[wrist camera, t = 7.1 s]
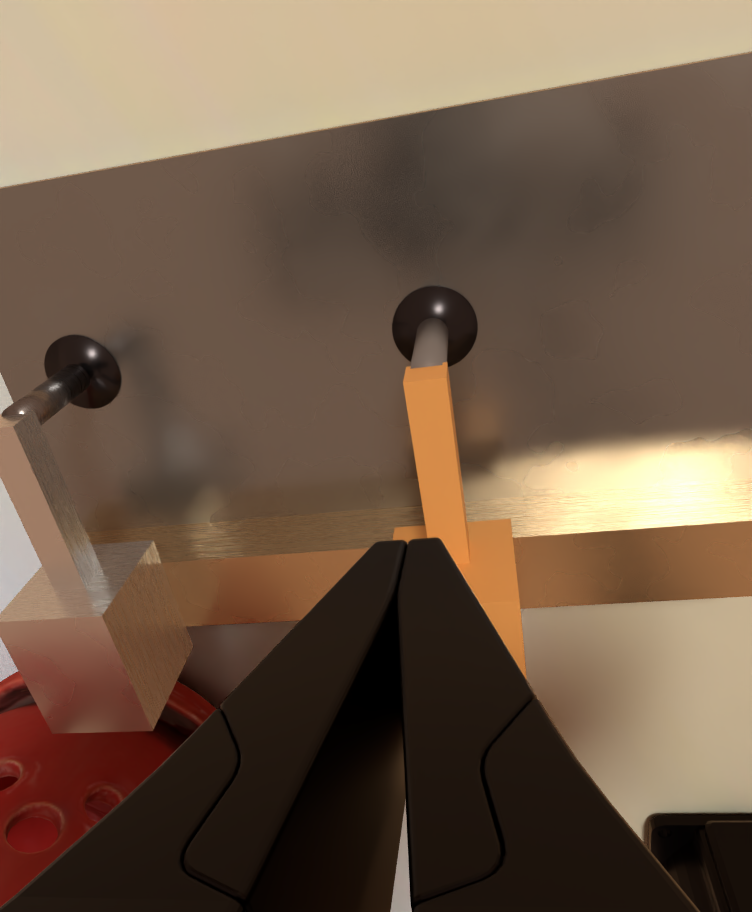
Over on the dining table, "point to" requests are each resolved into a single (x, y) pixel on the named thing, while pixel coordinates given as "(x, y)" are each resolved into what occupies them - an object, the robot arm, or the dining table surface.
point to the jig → (376, 368)
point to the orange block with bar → (456, 491)
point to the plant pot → (71, 776)
